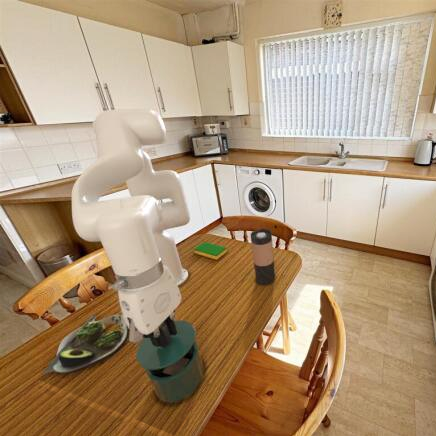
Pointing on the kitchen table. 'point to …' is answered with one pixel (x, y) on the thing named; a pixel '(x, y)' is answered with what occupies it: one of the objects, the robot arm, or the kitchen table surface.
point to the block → (175, 367)
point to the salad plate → (89, 345)
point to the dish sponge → (210, 250)
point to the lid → (172, 352)
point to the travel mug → (263, 255)
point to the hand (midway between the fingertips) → (165, 338)
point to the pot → (178, 378)
